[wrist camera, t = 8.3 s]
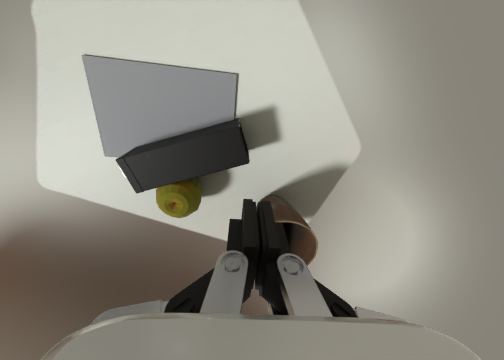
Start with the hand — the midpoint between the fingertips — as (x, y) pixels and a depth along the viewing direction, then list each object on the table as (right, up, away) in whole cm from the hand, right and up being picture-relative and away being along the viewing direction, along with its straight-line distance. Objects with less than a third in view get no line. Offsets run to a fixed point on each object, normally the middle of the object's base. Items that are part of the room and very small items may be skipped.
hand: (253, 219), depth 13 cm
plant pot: (+5, -5, +42) cm, 42 cm away
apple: (-17, +1, +38) cm, 42 cm away
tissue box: (-2, +11, +29) cm, 31 cm away
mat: (-19, +16, +30) cm, 39 cm away
